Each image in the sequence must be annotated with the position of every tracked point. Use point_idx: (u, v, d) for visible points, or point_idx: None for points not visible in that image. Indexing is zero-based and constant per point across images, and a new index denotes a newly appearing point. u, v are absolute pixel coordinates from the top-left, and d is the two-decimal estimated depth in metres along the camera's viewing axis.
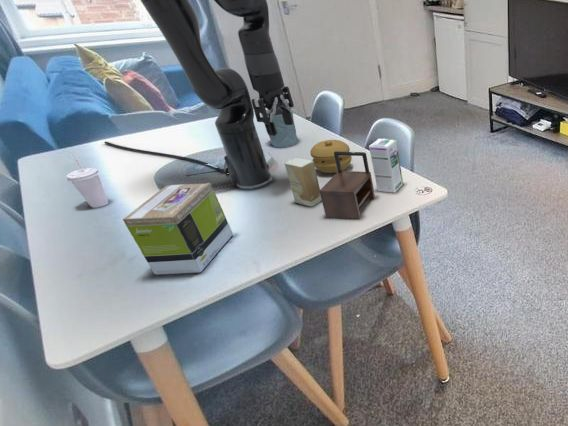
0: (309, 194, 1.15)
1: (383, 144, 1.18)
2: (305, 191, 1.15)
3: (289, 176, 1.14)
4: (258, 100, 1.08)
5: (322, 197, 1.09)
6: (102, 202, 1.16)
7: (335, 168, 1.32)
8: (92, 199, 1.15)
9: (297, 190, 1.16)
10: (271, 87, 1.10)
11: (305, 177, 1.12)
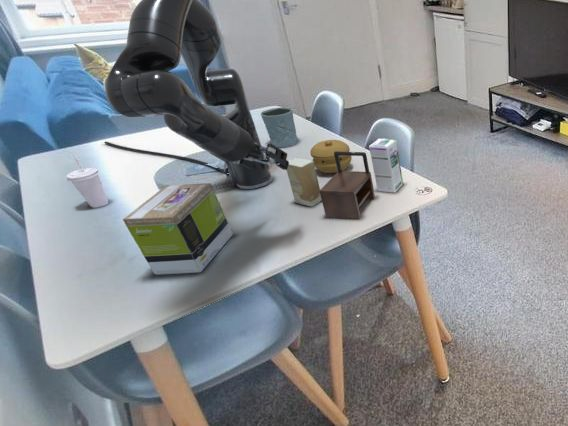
0: (309, 194, 1.15)
1: (383, 144, 1.18)
2: (305, 191, 1.15)
3: (289, 176, 1.14)
4: None
5: (322, 197, 1.09)
6: (102, 202, 1.16)
7: (335, 168, 1.32)
8: (92, 199, 1.15)
9: (297, 190, 1.16)
10: None
11: (305, 177, 1.12)
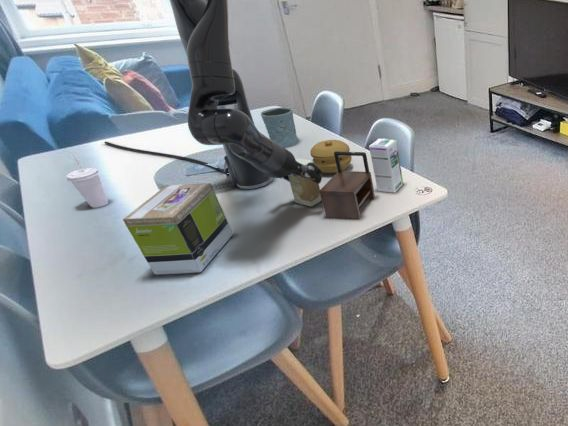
0: (309, 194, 1.15)
1: (383, 144, 1.18)
2: (305, 191, 1.15)
3: (289, 176, 1.14)
4: None
5: (322, 197, 1.09)
6: (102, 202, 1.16)
7: (335, 168, 1.32)
8: (92, 199, 1.15)
9: (297, 190, 1.16)
10: None
11: None
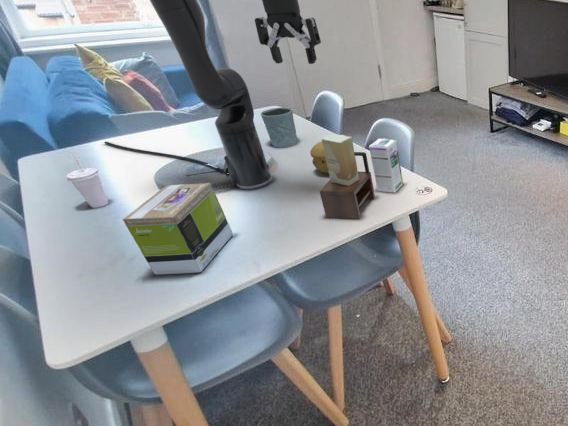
0: (347, 172, 1.08)
1: (383, 144, 1.18)
2: (342, 170, 1.08)
3: (326, 153, 1.07)
4: None
5: (322, 197, 1.09)
6: (102, 202, 1.16)
7: None
8: (92, 199, 1.15)
9: (334, 168, 1.09)
10: (264, 9, 0.98)
11: (343, 154, 1.06)
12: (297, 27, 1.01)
